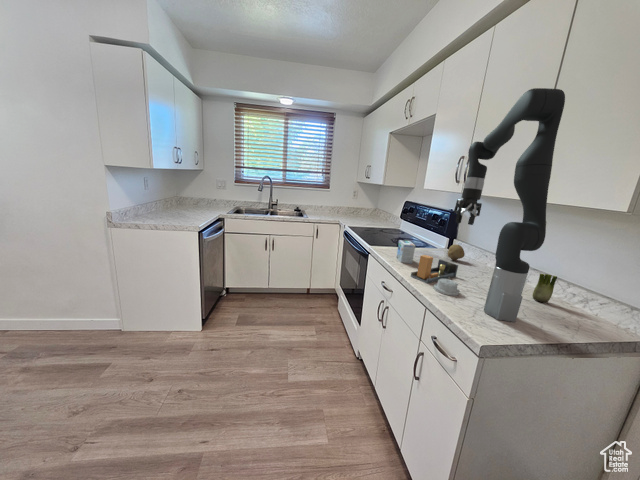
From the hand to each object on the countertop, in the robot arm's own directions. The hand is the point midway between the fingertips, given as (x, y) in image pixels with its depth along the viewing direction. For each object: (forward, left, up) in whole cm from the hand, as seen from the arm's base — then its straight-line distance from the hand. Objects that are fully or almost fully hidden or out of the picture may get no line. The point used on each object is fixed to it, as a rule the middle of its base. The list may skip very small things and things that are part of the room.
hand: (464, 223), depth 119 cm
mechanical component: (-17, +9, -28) cm, 34 cm away
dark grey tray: (-1, +9, -27) cm, 29 cm away
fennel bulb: (-16, -29, -27) cm, 43 cm away
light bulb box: (+22, +19, -27) cm, 40 cm away
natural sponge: (+35, -14, -27) cm, 47 cm away
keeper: (+5, +3, -27) cm, 28 cm away
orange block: (-4, +14, -26) cm, 30 cm away
